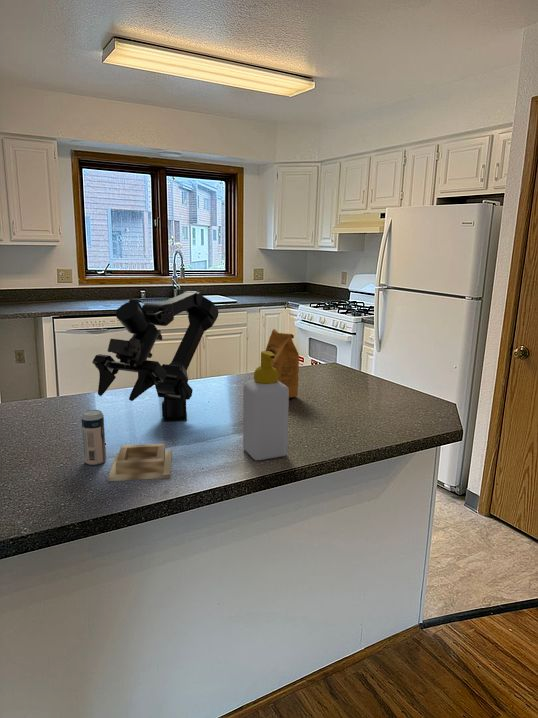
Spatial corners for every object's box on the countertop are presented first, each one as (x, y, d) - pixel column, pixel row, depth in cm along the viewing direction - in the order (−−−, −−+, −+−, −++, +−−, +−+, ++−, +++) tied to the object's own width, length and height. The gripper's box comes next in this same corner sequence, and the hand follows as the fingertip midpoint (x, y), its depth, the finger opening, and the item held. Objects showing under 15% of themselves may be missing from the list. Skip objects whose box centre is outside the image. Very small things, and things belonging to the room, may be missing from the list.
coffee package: (282, 389, 177) (284, 327, 172) (301, 398, 166) (303, 333, 161) (257, 392, 172) (258, 329, 167) (275, 402, 162) (277, 335, 157)
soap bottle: (254, 462, 117) (255, 357, 112) (241, 448, 125) (241, 349, 120) (289, 456, 121) (292, 354, 115) (274, 443, 129) (276, 347, 123)
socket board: (171, 453, 122) (171, 440, 121) (170, 477, 109) (169, 463, 108) (116, 456, 120) (115, 443, 119) (108, 481, 107) (107, 466, 106)
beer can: (110, 461, 117) (107, 412, 114) (91, 468, 113) (87, 417, 110) (99, 455, 120) (96, 407, 117) (80, 461, 116) (77, 412, 114)
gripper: (95, 322, 125) (64, 375, 117) (158, 328, 118) (130, 385, 110) (117, 347, 134) (90, 398, 126) (177, 354, 127) (152, 409, 119)
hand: (114, 397), depth 120 cm, fingers open, 9 cm apart
